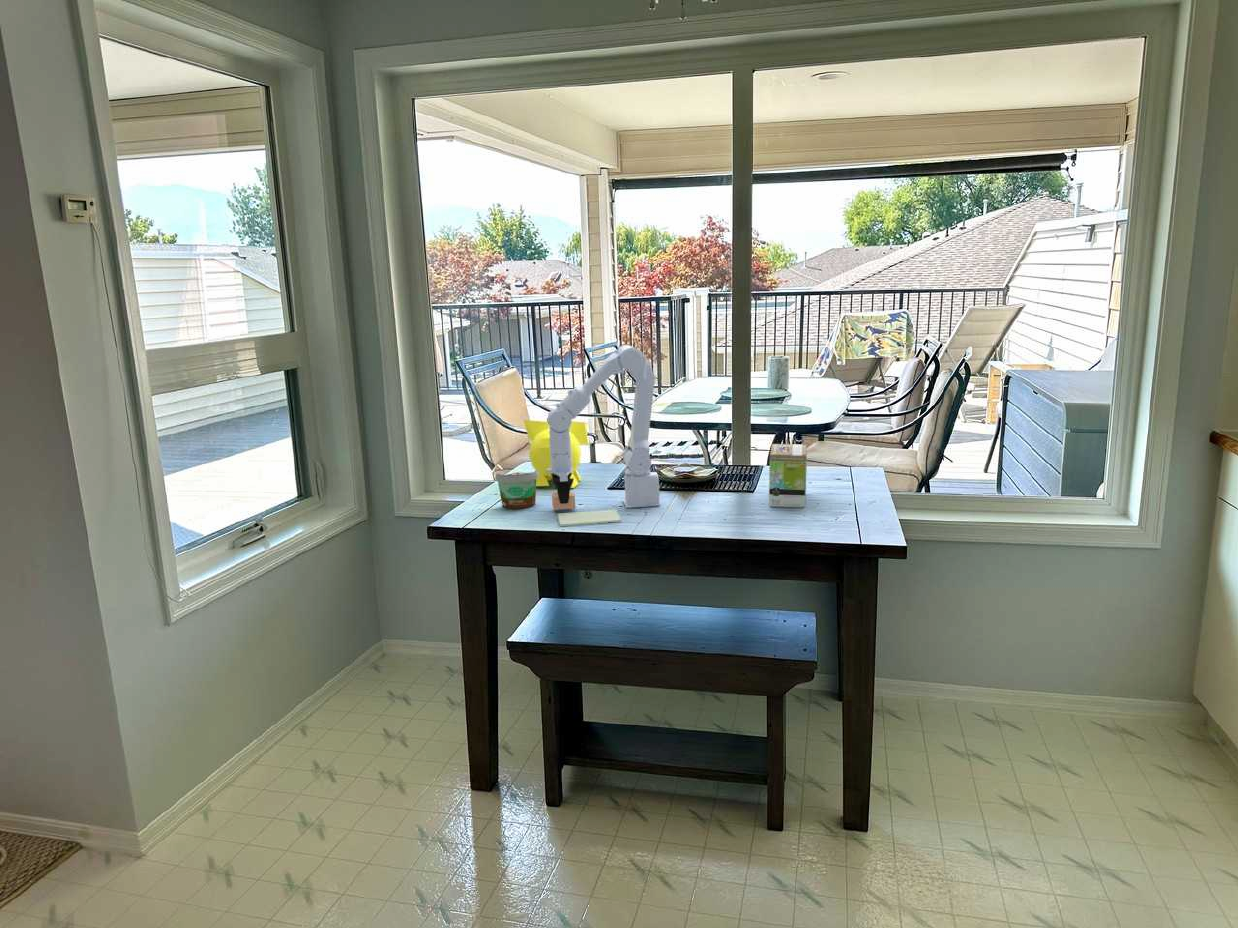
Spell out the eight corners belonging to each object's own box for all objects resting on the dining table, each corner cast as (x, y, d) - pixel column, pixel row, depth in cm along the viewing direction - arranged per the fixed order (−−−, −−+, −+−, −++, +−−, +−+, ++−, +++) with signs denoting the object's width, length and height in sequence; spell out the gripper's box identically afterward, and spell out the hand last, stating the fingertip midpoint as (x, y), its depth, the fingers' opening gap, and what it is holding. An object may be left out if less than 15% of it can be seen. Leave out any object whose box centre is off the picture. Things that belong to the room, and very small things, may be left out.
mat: (616, 511, 239) (616, 509, 239) (621, 521, 229) (621, 519, 229) (557, 515, 237) (557, 513, 237) (560, 526, 227) (560, 524, 227)
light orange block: (573, 503, 244) (573, 491, 244) (575, 507, 240) (574, 495, 239) (552, 505, 244) (551, 493, 243) (553, 509, 239) (552, 497, 238)
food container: (498, 512, 242) (495, 477, 240) (497, 506, 248) (494, 472, 246) (542, 508, 245) (540, 473, 242) (540, 502, 250) (538, 468, 248)
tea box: (806, 508, 235) (807, 454, 232) (768, 507, 238) (768, 454, 234) (806, 493, 250) (806, 442, 246) (770, 493, 252) (770, 442, 248)
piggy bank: (592, 474, 281) (589, 415, 277) (583, 490, 262) (580, 427, 258) (531, 475, 284) (527, 416, 279) (518, 490, 265) (514, 428, 260)
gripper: (544, 448, 245) (547, 495, 248) (547, 459, 231) (550, 508, 234) (569, 446, 246) (572, 493, 249) (574, 457, 232) (576, 506, 235)
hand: (563, 500), depth 241 cm, fingers closed on light orange block, 4 cm apart
